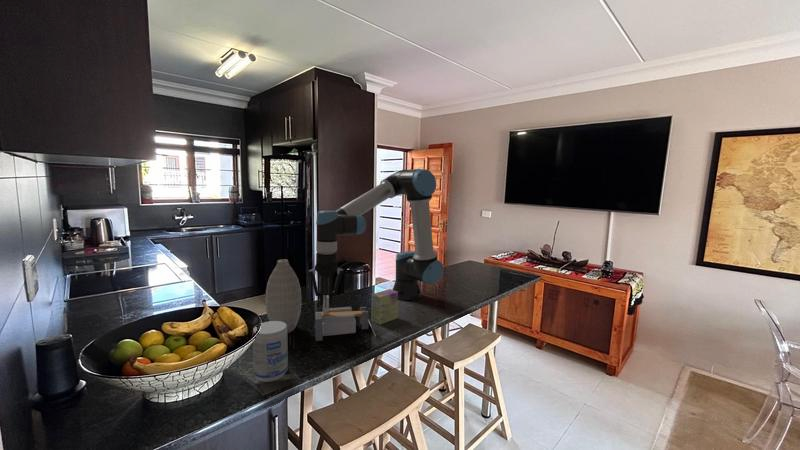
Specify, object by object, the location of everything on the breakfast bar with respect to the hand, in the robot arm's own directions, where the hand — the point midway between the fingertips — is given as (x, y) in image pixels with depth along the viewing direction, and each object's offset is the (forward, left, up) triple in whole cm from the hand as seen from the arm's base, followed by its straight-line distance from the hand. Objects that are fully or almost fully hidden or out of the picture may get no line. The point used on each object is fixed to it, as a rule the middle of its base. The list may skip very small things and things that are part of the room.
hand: (325, 313), depth 124 cm
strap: (-6, 0, -2) cm, 6 cm away
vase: (+15, -4, -8) cm, 18 cm away
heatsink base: (-6, 0, -8) cm, 10 cm away
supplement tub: (+17, +24, -8) cm, 31 cm away
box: (-25, -7, -8) cm, 27 cm away
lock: (+3, +5, -7) cm, 9 cm away
